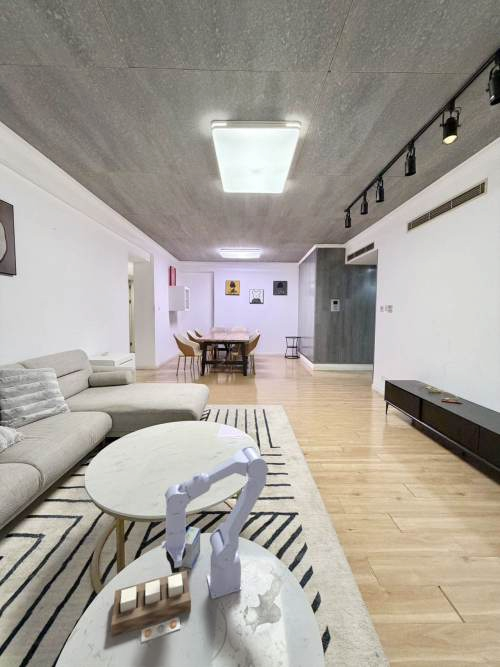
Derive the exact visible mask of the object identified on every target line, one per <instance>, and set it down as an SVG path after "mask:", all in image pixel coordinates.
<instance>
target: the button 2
mask: <svg viewBox="0 0 500 667" xmlns="http://www.w3.org/2000/svg"><path fill="white" fill-rule="evenodd" d="M168 594H169V598H171V597H175V596H178V595H181V594H183V582H182V575H181V573H180V574H177V575H173V576H170V577H168Z"/></svg>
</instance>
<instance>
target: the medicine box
mask: <svg viewBox="0 0 500 667" xmlns="http://www.w3.org/2000/svg"><path fill="white" fill-rule="evenodd" d="M185 537H186V544H185V548H186V555H185V556H184V558H183V560H182V566H181V567H184V568H189V569H193V566H194V565H195V562H196V560H197V558H198V557H199V556H198V555H199V554H200V551H201V528H199V527H196V526H195V527H194V526H189V527H188V529H187V531H186V532H185Z"/></svg>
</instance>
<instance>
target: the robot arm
mask: <svg viewBox="0 0 500 667" xmlns="http://www.w3.org/2000/svg"><path fill="white" fill-rule="evenodd" d="M269 471H270V469H269V467H268V464H267V462H266V460H265V459H263V457H262V456H261V454H259V452H258V451H257V450H256V448H255V447H253V446H251V445H249V446H245V447H244V448H242V449H239V450H238V451H236V453H235V454H234V455H233V456H232V457H230V458H229V459H227V460H226V461H224V462H223V463H221V464H220V465H218V466H217V467H215V468H213V469H211V470H210V471H209V472H199V473H195V474H193V476H192V477H190V478H188V479H186V480H185V481H182V482H179V483H175V484H172V485H170V486H169V487H168V488H167V489H166V491H165V492H164V497H165V503H166V508H165V509H166V510H165V511H166V513H165V540H164V541H162V542H161V549H165V555H166V560H167V562H168V563H169V565H170V571H171V575H172V574H175V573H179V572H181V571H180V570H181V567H183V566H182V560H183V558H184V556H185V555H186V548H185V544H186V537H185V534H186V532H187V531H186V527H187V526H186V519H187V518H186V517H187V516H186V515H187V514H186V513H187V511H186V509H187V507H188V505H189V504H191V502H192V501H193V500H196V499H198V498H199V497H200V496H203V495H204V494H205V493H207V492H210V489H211V487H212V485H214V484H216V483H217V482H220V481H222V480H224V479H226V478H228V477H230V476H232V475H234V474H238V475H241V476H242V477H247V478H248V480H247V482H246V483H245V485H244V487H243V489H242V490H241V492H240V494H239V496H238V498H237V500H236V502H235V504H234V506H233V507H232V508H231V509H232V510H231V511H230V513H229V515H228V516H227V519H226V520H225V522H224V523H223V522H222V523H219V525H218V526H217V528H216V529H215V530H214V531H213V532H211V534H210V537H209V543H210V545H211V549H212V551H211V554H210V574H207V575H206V578H207V584H208V587H209V593H210V597H211V599H217V598H220V597H223V596H226V595H228V594H230V595H231V594H232V593H235V592H238V591H241V590H242V586H241V583H242V582H241V580H242V578H241V577H242V565H241V564H242V563H241V558H240V555H239V552H238V549H239V542H240V541H239V535H240V533H241V531H242V530H243V527H244V526H245V523H246V522H247V520H248V518H249V516H250V514H251V512H252V510H253V509H254V507H255V504H256V503H257V501H258V500H259V497H260V495H261V494H262V492H263V490H264V488H265V486H266V483H267V475H268V472H269Z"/></svg>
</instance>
